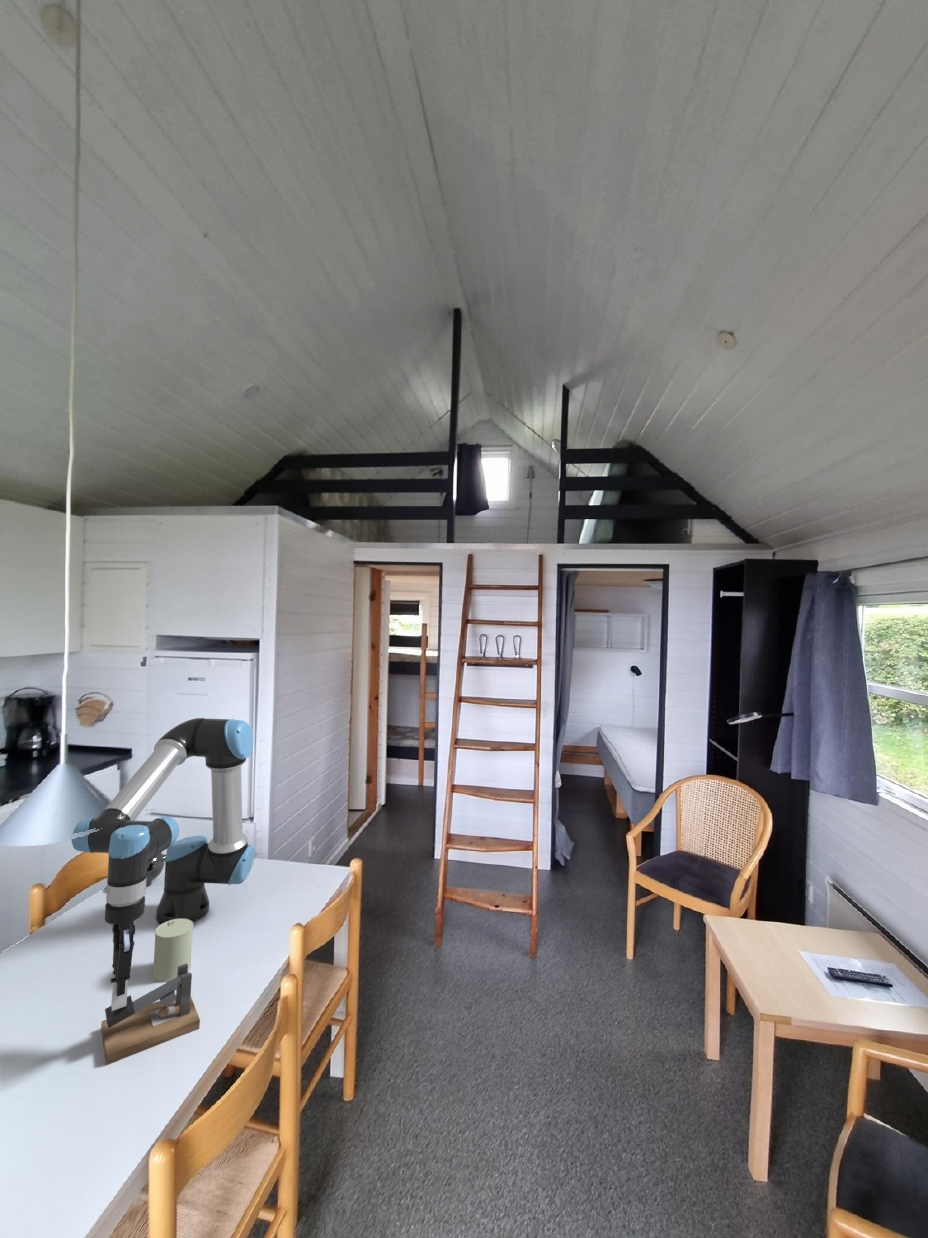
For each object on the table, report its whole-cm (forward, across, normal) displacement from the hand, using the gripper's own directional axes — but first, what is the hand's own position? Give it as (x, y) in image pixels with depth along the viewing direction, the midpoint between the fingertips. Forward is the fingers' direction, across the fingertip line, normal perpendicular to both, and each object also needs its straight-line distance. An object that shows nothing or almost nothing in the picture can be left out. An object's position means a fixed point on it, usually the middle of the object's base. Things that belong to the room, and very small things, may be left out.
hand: (118, 1006), depth 118 cm
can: (+8, -20, +14) cm, 26 cm away
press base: (+8, 0, +7) cm, 10 cm away
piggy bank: (+8, -79, +15) cm, 81 cm away
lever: (+3, 0, +7) cm, 8 cm away
